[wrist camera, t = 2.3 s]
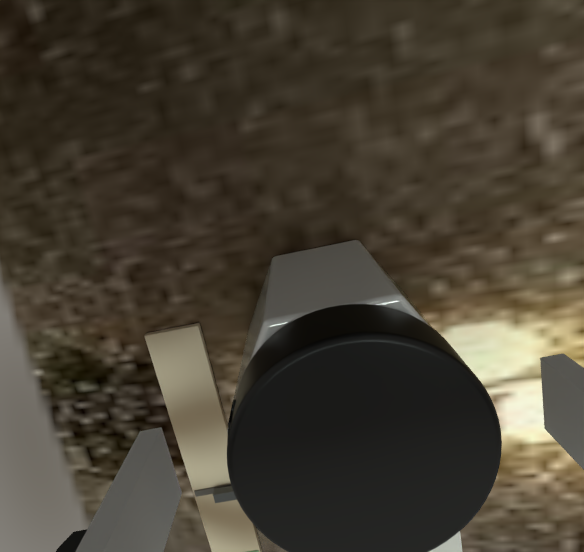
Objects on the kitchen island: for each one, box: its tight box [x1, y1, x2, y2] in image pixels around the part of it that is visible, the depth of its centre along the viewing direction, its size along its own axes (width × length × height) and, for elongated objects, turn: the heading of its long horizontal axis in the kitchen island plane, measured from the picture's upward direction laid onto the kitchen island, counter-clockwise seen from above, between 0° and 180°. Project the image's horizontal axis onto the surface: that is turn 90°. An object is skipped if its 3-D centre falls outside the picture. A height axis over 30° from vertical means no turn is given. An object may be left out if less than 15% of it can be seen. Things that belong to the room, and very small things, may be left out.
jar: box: [227, 240, 502, 552], centre depth 19 cm, size 9×8×12 cm
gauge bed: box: [145, 323, 262, 552], centre depth 28 cm, size 24×3×1 cm, turn 11°
